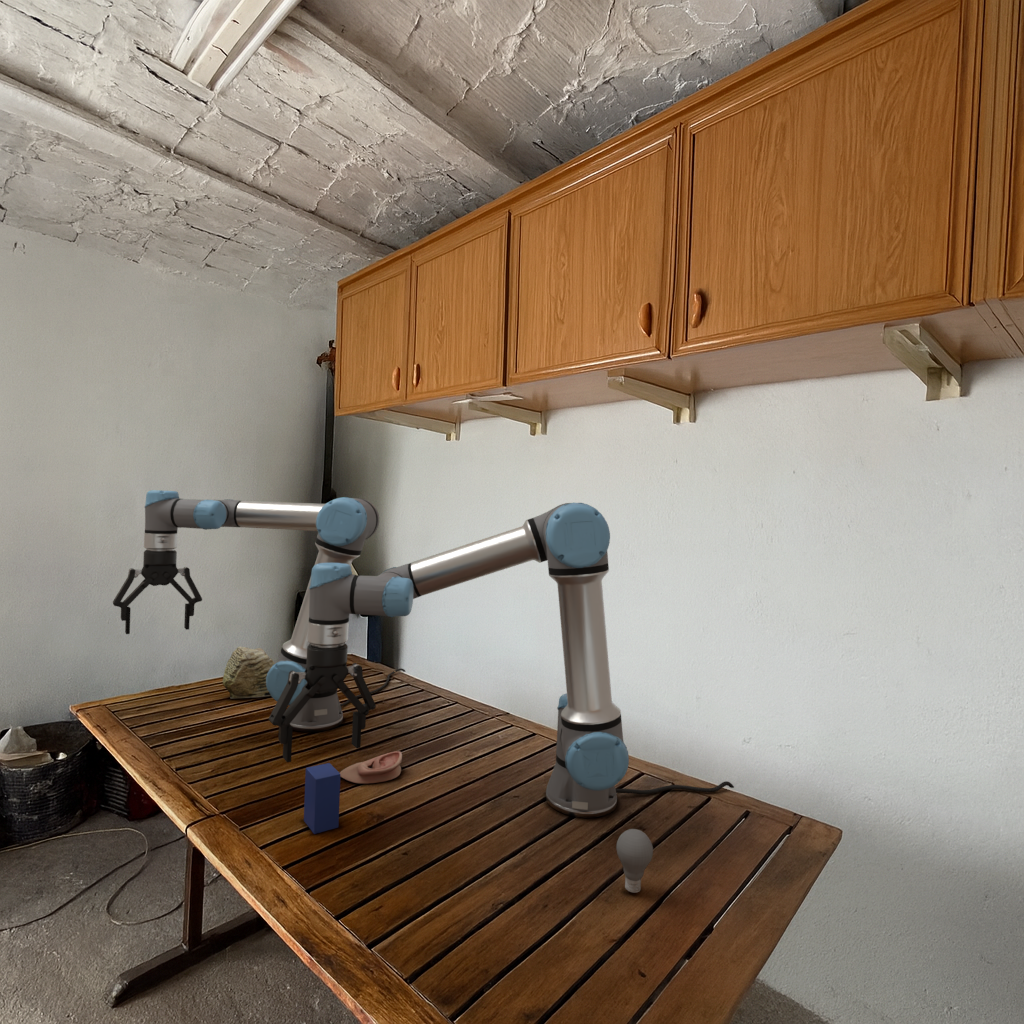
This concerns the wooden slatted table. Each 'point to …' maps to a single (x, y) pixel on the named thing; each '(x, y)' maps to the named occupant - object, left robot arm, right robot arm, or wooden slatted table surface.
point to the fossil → (247, 673)
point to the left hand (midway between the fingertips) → (157, 630)
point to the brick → (322, 798)
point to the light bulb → (634, 857)
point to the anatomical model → (374, 769)
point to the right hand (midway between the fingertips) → (322, 752)
